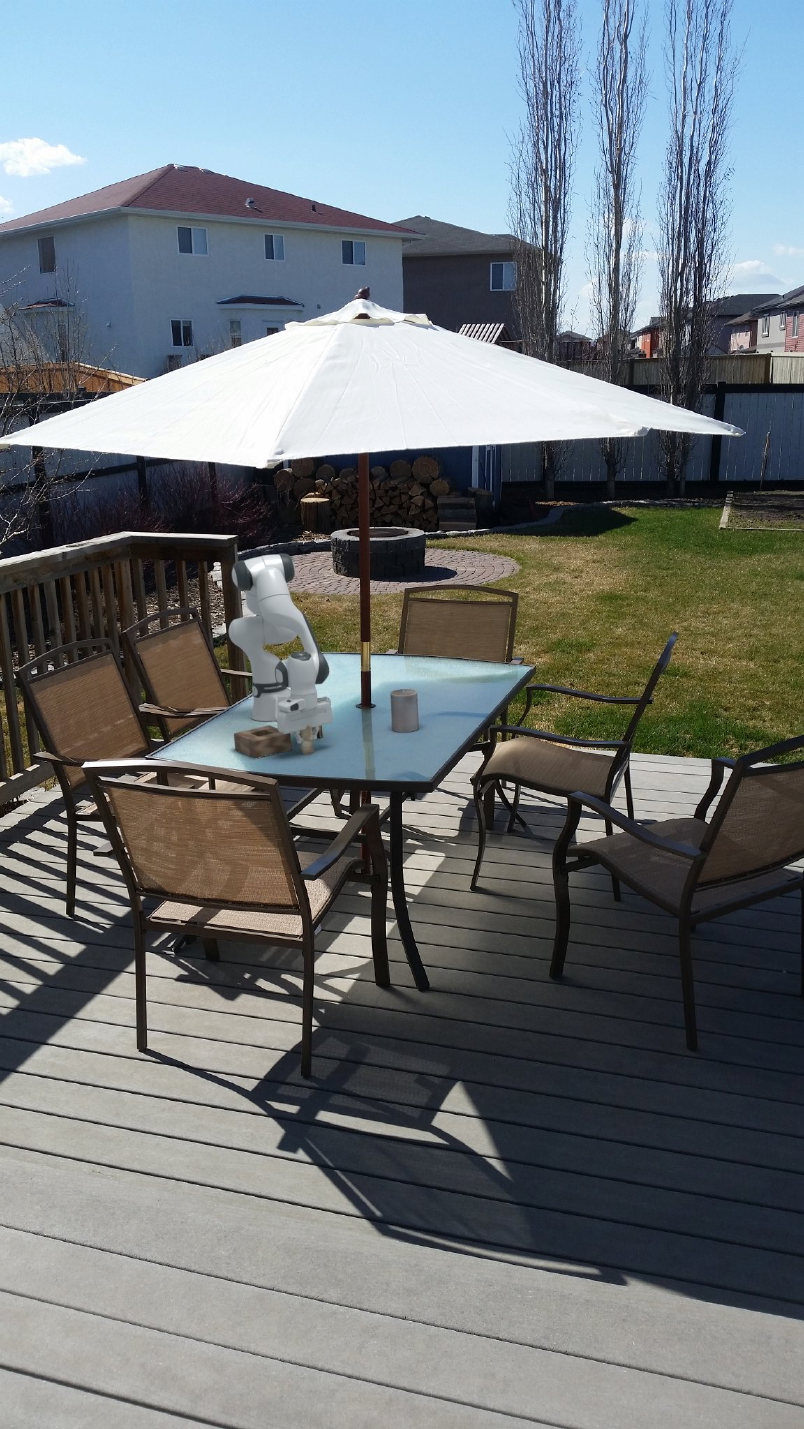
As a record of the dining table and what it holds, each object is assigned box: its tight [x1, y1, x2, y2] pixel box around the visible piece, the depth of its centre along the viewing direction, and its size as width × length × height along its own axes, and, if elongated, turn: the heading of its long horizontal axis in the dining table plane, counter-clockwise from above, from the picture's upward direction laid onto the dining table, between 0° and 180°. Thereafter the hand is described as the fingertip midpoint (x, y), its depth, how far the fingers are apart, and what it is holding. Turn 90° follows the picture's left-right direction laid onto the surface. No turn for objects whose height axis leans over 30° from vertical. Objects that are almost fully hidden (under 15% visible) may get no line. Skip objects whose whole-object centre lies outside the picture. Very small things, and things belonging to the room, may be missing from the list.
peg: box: [300, 725, 315, 756], centre depth 358 cm, size 4×4×10 cm
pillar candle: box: [390, 688, 420, 734], centre depth 380 cm, size 10×10×15 cm
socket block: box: [233, 724, 293, 759], centre depth 364 cm, size 14×14×6 cm
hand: (306, 741), depth 358 cm, fingers closed on peg, 4 cm apart
